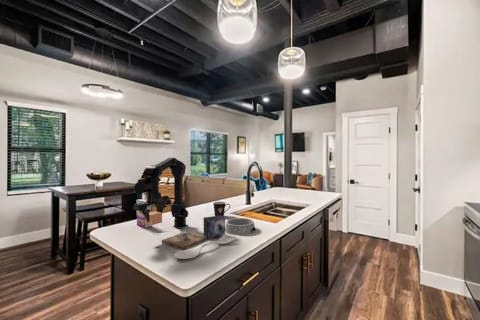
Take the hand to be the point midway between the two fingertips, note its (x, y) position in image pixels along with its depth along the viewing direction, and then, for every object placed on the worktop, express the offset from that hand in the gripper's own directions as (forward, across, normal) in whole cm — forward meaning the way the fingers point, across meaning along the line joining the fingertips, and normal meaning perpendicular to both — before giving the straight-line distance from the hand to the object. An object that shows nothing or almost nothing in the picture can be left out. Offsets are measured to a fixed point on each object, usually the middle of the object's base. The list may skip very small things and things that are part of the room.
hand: (153, 220), depth 121 cm
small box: (+11, +23, -21) cm, 33 cm away
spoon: (+11, +8, -30) cm, 33 cm away
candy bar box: (+11, +13, +29) cm, 34 cm away
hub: (+1, 0, 0) cm, 1 cm away
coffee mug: (+11, +57, +3) cm, 58 cm away
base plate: (+11, +9, -13) cm, 19 cm away
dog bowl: (+11, +40, -26) cm, 49 cm away
